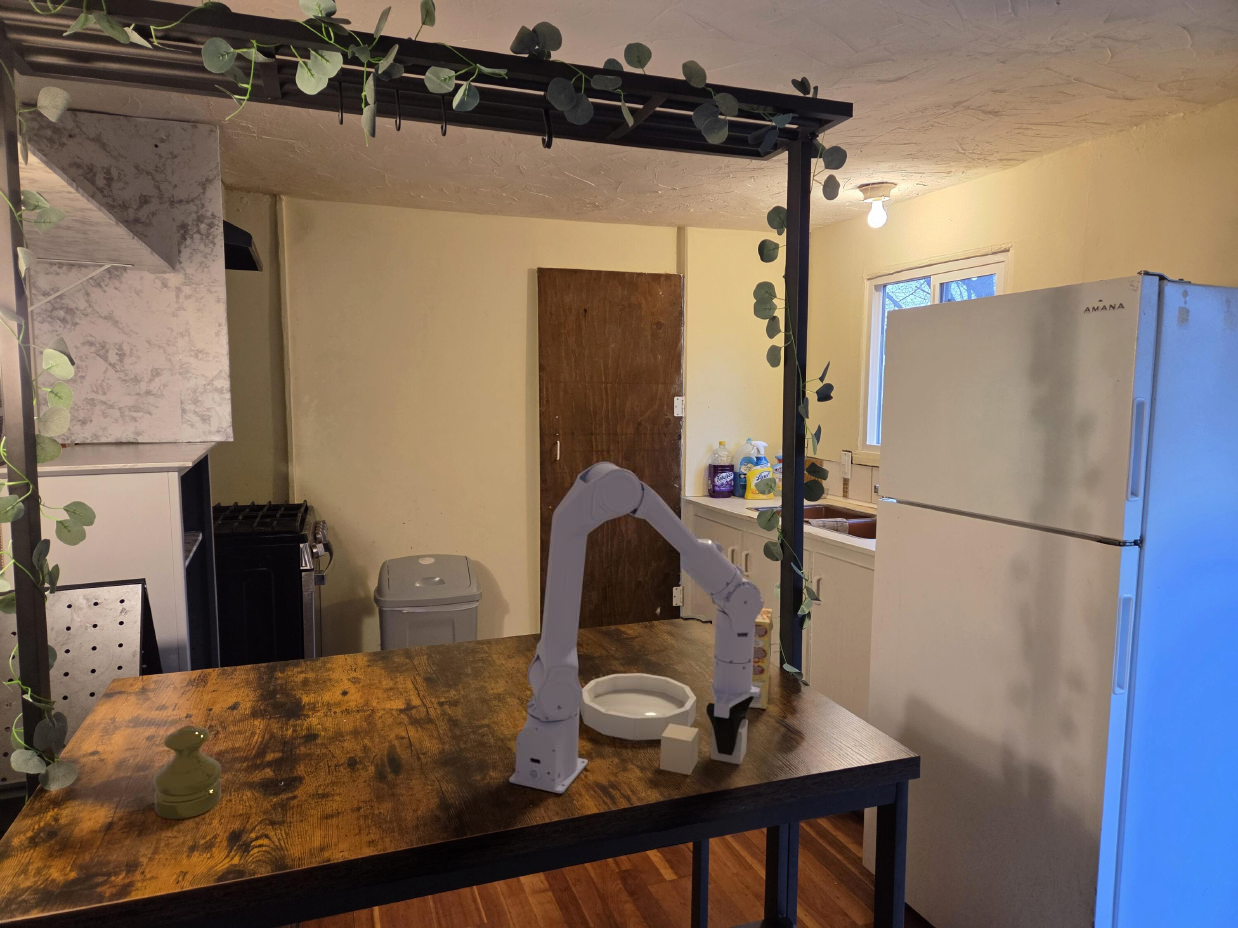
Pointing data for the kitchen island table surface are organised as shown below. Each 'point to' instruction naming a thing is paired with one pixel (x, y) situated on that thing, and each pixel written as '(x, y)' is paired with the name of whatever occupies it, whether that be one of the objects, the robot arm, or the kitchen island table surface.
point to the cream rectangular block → (679, 749)
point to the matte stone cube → (738, 750)
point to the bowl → (636, 705)
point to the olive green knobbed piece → (187, 777)
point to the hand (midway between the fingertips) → (729, 745)
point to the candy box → (762, 657)
